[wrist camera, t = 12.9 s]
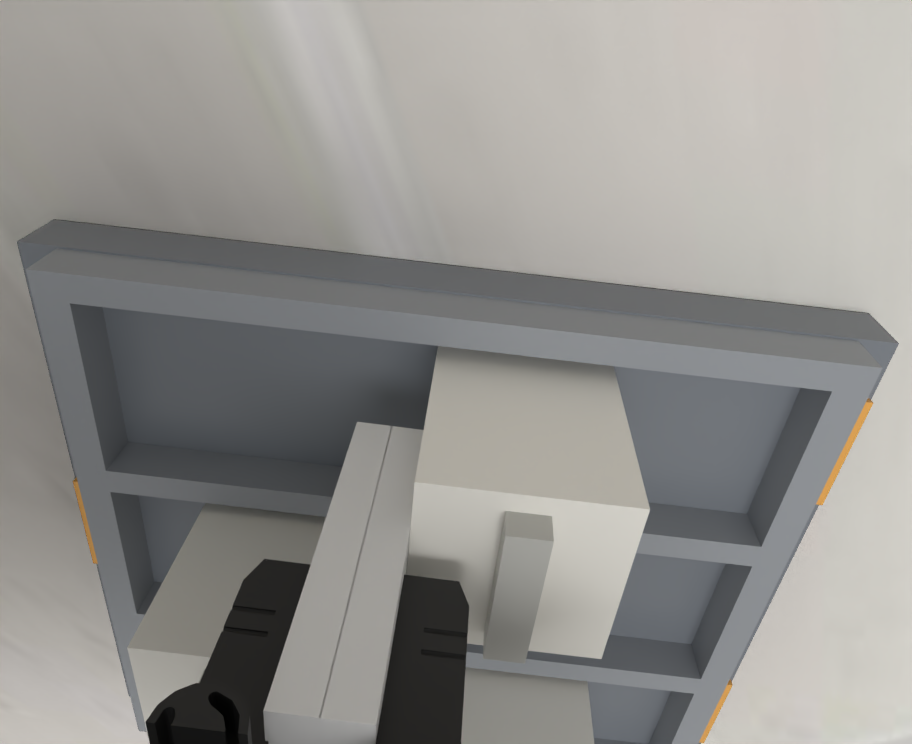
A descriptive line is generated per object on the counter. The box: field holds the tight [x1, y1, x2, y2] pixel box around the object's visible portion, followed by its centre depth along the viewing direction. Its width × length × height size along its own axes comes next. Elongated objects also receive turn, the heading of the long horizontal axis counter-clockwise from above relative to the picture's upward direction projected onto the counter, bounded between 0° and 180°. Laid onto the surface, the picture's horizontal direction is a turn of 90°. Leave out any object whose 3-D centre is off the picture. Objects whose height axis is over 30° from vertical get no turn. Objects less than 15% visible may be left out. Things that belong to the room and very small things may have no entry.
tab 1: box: [127, 503, 326, 743], centre depth 18 cm, size 4×4×6 cm
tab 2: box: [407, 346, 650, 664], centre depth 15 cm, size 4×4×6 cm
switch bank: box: [17, 220, 899, 744], centre depth 20 cm, size 20×17×3 cm
